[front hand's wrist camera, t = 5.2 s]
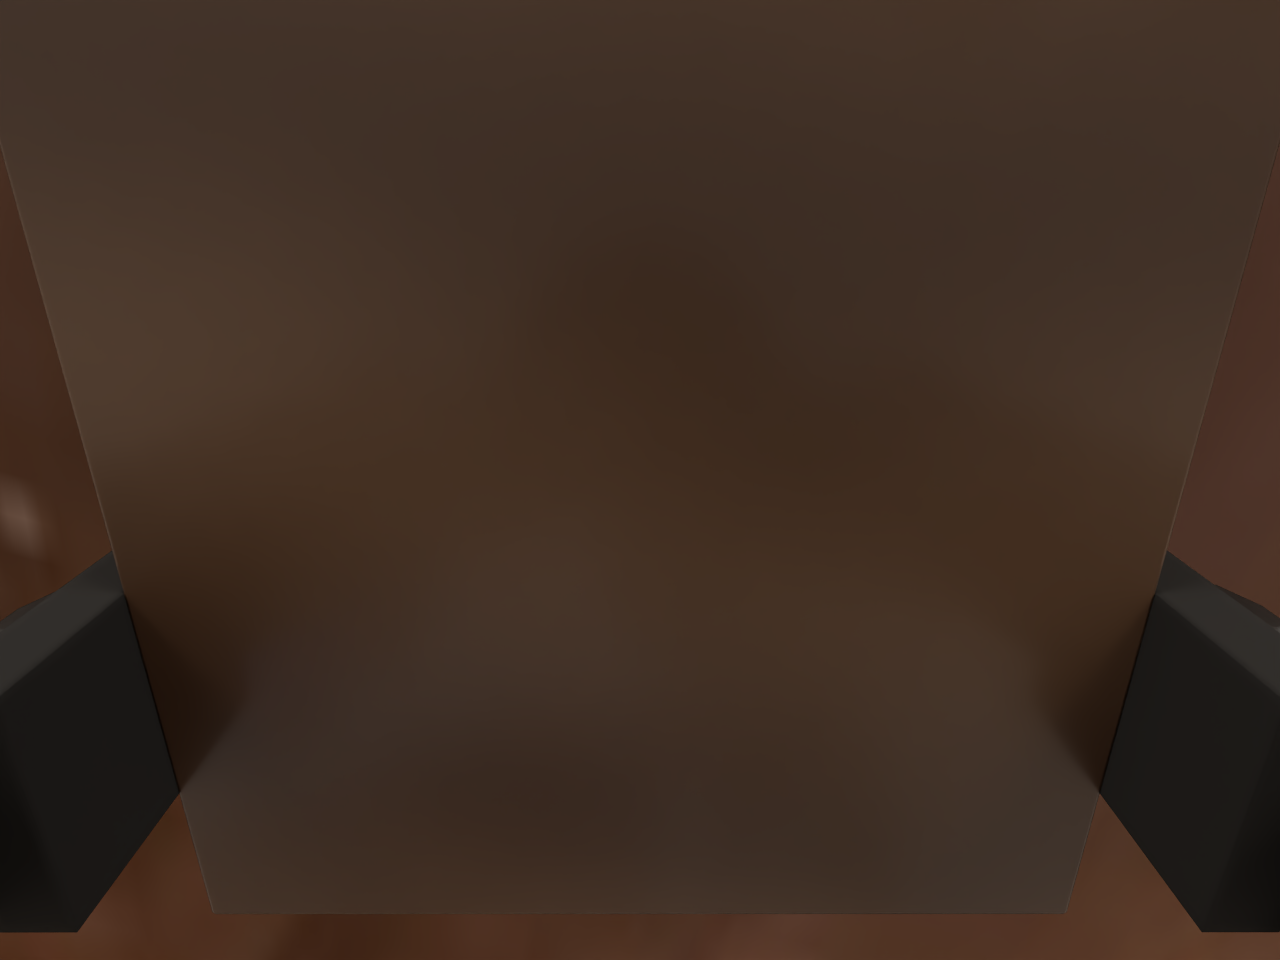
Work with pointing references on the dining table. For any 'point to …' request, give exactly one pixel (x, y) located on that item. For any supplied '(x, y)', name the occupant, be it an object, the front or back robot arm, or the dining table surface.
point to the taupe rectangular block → (639, 424)
